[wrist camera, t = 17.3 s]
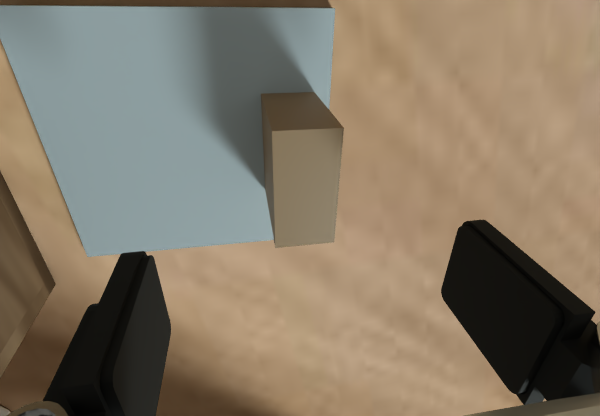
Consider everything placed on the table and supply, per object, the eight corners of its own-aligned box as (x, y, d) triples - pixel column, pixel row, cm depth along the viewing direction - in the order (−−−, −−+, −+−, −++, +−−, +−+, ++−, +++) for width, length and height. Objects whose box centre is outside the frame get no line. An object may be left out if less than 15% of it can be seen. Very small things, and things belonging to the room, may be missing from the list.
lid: (329, 7, 15) (377, 16, 10) (318, 226, 22) (344, 297, 17) (1, 4, 13) (-133, 14, 8) (93, 245, 20) (47, 332, 15)
